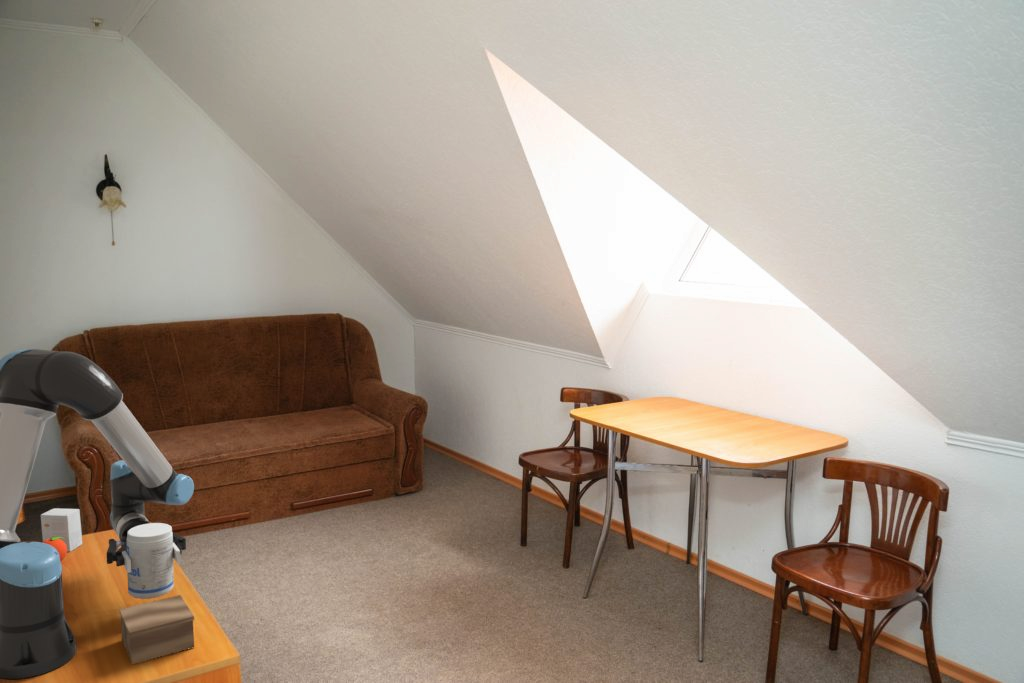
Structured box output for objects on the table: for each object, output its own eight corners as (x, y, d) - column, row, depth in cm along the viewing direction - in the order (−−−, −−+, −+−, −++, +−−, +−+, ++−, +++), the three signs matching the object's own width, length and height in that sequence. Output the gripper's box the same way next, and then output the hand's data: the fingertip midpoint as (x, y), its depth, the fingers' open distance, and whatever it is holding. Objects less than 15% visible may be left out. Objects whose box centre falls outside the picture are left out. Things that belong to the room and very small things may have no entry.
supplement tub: (118, 594, 179) (116, 531, 177) (155, 579, 187) (152, 519, 186) (147, 604, 174) (145, 539, 173) (183, 588, 183) (181, 526, 181)
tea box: (195, 647, 168) (193, 616, 167) (131, 665, 160) (129, 632, 160) (181, 624, 178) (180, 594, 177) (121, 640, 171) (119, 609, 170)
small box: (82, 544, 224) (80, 508, 222) (70, 552, 218) (67, 515, 217) (56, 543, 224) (53, 507, 223) (42, 551, 219) (40, 514, 218)
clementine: (62, 555, 216) (61, 530, 215) (77, 560, 212) (75, 535, 211) (32, 565, 209) (30, 539, 208) (46, 571, 206) (45, 544, 205)
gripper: (183, 538, 201) (206, 567, 183) (85, 556, 189) (99, 589, 170) (182, 509, 201) (205, 535, 182) (84, 525, 188) (97, 555, 170)
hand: (154, 561), depth 176 cm, fingers closed on supplement tub, 9 cm apart
